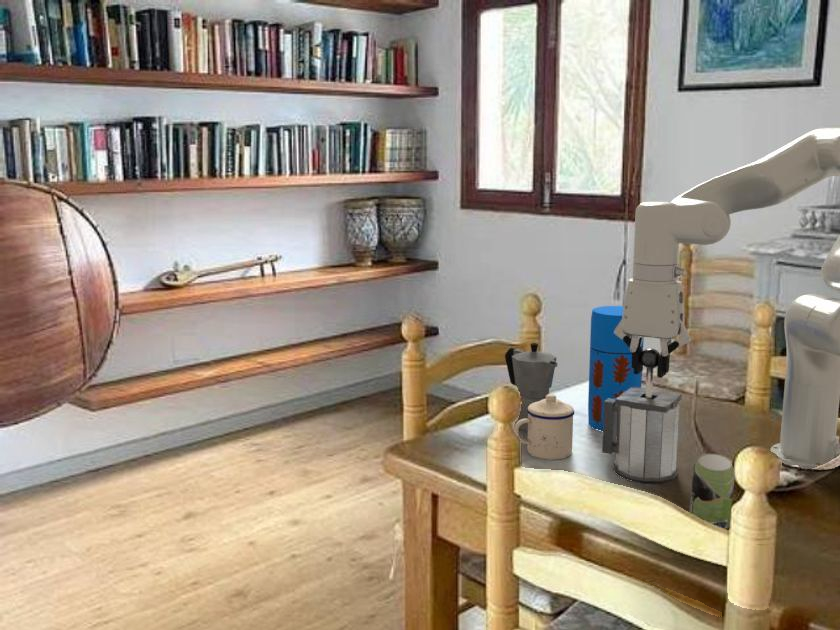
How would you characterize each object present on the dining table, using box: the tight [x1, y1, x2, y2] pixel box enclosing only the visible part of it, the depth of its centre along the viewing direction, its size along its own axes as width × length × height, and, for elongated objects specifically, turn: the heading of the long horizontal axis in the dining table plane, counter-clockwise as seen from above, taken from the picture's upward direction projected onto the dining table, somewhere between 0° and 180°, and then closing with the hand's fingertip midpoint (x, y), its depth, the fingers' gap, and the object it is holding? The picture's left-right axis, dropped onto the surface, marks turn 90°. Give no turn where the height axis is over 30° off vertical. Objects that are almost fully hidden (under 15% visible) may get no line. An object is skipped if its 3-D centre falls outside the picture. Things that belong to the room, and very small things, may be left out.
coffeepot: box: [504, 342, 558, 432], centre depth 181 cm, size 15×9×18 cm, turn 36°
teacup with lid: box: [513, 393, 575, 461], centre depth 164 cm, size 12×9×12 cm
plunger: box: [640, 347, 661, 399], centre depth 152 cm, size 7×7×18 cm
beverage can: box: [689, 453, 736, 529], centre depth 131 cm, size 6×7×12 cm
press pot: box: [601, 386, 682, 485], centre depth 154 cm, size 14×11×14 cm
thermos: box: [587, 305, 645, 432], centre depth 178 cm, size 11×11×25 cm
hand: (649, 373), depth 151 cm, fingers closed on plunger, 3 cm apart
